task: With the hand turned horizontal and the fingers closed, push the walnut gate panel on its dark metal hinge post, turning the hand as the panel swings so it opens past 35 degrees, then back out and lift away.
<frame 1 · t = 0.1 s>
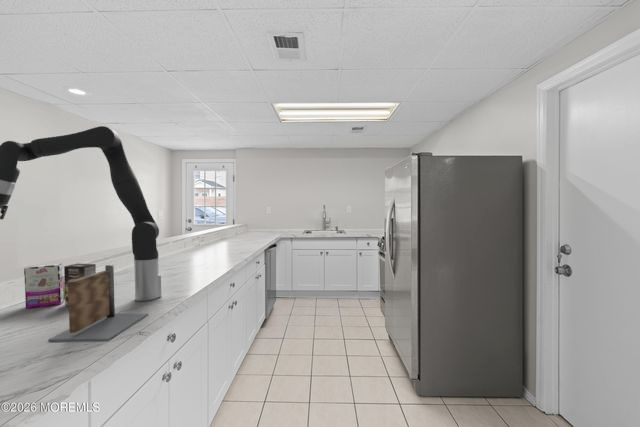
gate: (90, 299, 104), point 10 cm above the worktop, hinge at 0.0°
coffee box: (81, 304, 132), on the worktop
candy bar box: (45, 305, 130), on the worktop
supplement bottle: (67, 296, 143), on the worktop
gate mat: (103, 326, 106), on the worktop
hinge post: (110, 318, 114), resting on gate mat
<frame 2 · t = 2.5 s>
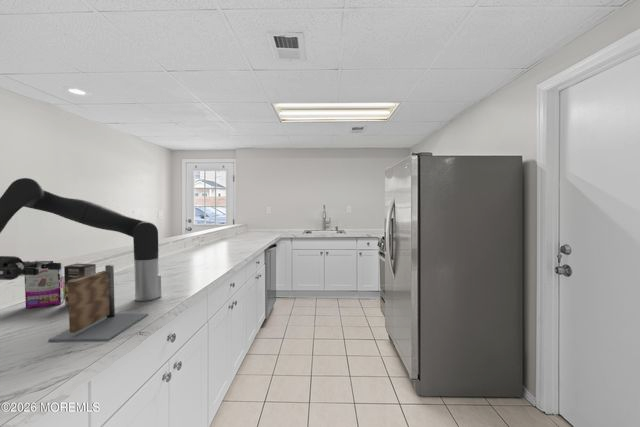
hand: (49, 268, 103), 20 cm above the worktop, tool horizontal, fingers open, 8 cm apart
nothing on the worktop moved.
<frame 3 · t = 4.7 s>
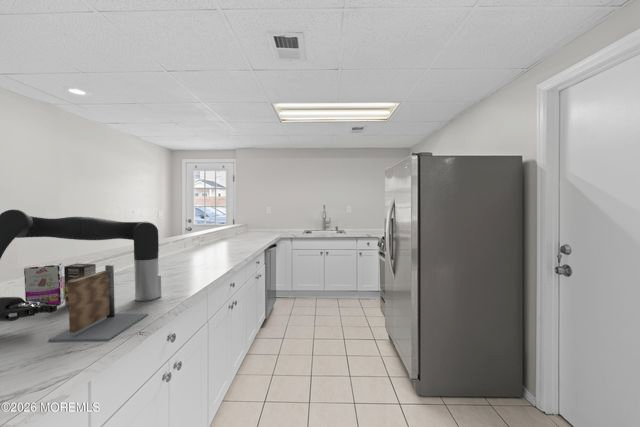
hand: (55, 308, 103), 7 cm above the worktop, tool horizontal, fingers closed
nothing on the worktop moved.
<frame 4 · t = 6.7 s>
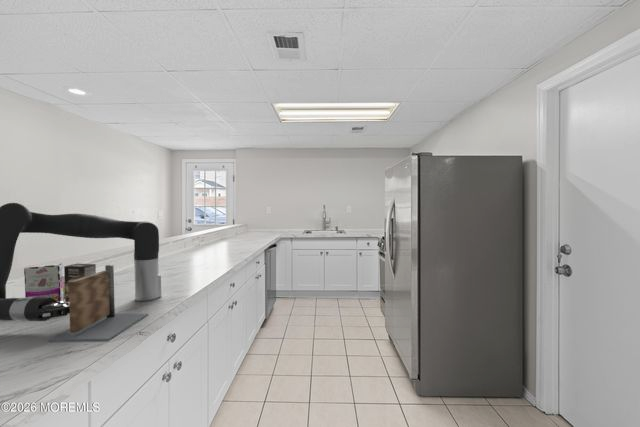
hand: (87, 308, 103), 7 cm above the worktop, tool horizontal, fingers closed
gate: (90, 299, 104), point 10 cm above the worktop, hinge at 0.7°, touching gripper
everything else where it was.
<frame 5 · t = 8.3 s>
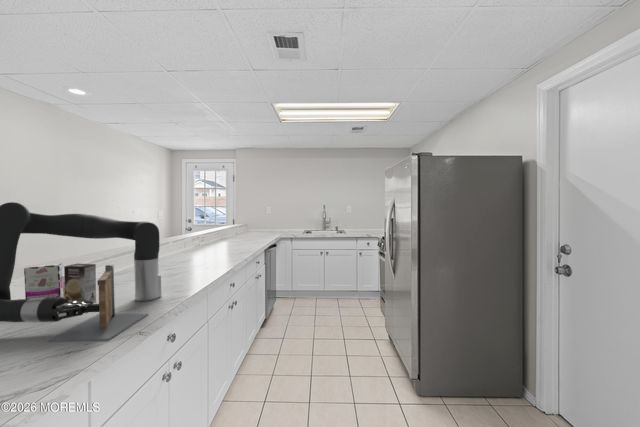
hand: (102, 307, 104), 7 cm above the worktop, tool horizontal, fingers closed
gate: (106, 298, 105), point 10 cm above the worktop, hinge at 26.5°, touching gripper
everything else where it was.
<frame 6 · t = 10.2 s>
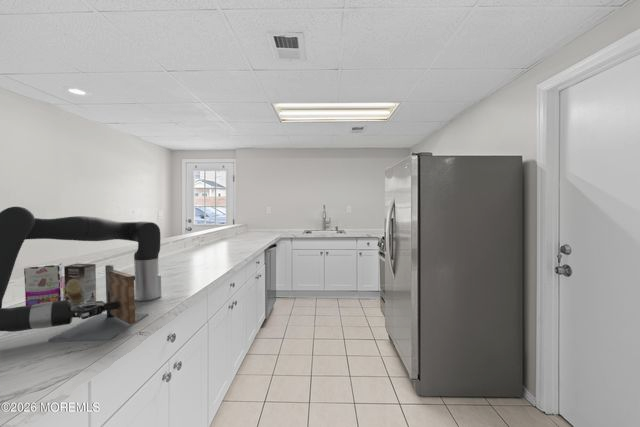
hand: (118, 304, 106), 7 cm above the worktop, tool horizontal, fingers closed
gate: (121, 295, 108), point 10 cm above the worktop, hinge at 52.5°
everything else where it was.
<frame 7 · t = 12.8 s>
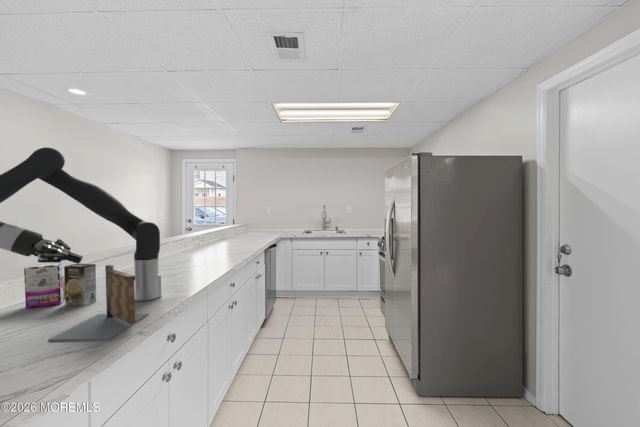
hand: (81, 260, 105), 22 cm above the worktop, tool tilted 65°, fingers closed
nothing on the worktop moved.
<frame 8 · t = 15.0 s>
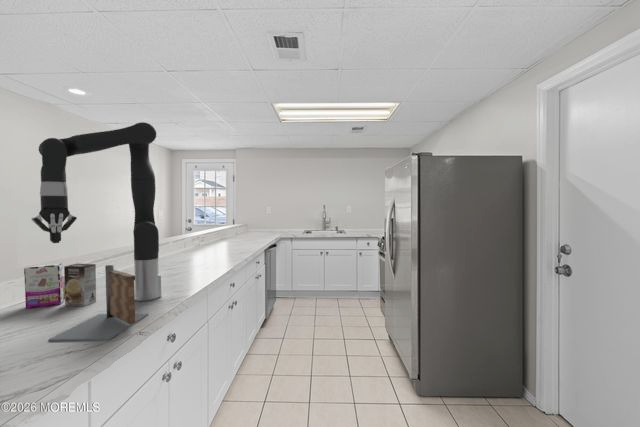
hand: (55, 242, 115), 27 cm above the worktop, tool pointing down, fingers closed
nothing on the worktop moved.
at the end: gate at +52° (first picture: +0°) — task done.
